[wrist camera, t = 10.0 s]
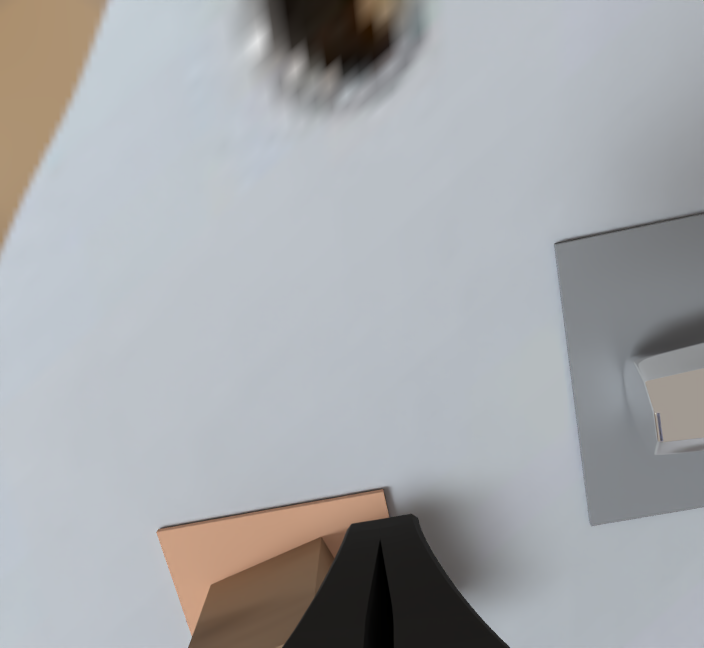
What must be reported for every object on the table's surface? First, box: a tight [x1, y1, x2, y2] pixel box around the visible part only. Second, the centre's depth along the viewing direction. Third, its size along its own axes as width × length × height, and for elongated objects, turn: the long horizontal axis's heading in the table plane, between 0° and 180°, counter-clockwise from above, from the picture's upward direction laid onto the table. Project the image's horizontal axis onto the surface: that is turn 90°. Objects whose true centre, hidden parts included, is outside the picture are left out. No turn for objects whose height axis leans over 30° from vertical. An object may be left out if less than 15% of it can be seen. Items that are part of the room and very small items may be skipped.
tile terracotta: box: [157, 489, 390, 636], centre depth 25 cm, size 9×9×1 cm
